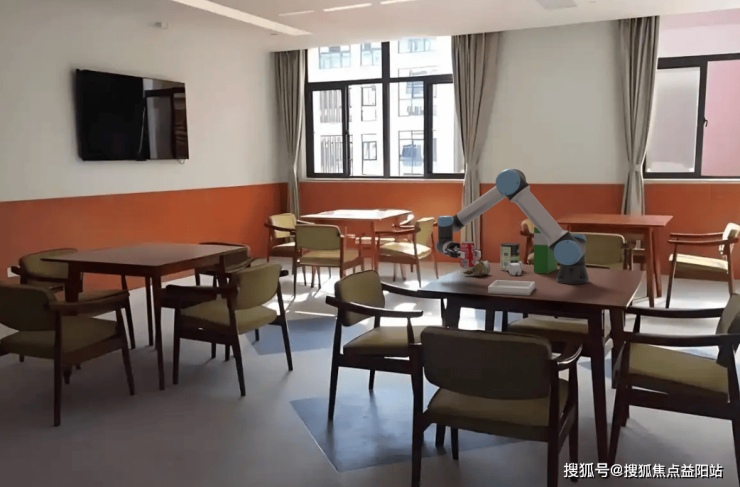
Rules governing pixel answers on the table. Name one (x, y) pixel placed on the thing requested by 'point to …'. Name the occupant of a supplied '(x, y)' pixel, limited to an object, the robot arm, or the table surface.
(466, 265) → the soda can
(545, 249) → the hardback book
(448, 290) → the table surface
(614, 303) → the table surface
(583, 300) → the table surface
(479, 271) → the ceramic sculpture
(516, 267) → the elephant figurine
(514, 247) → the coffee can
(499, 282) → the tray
